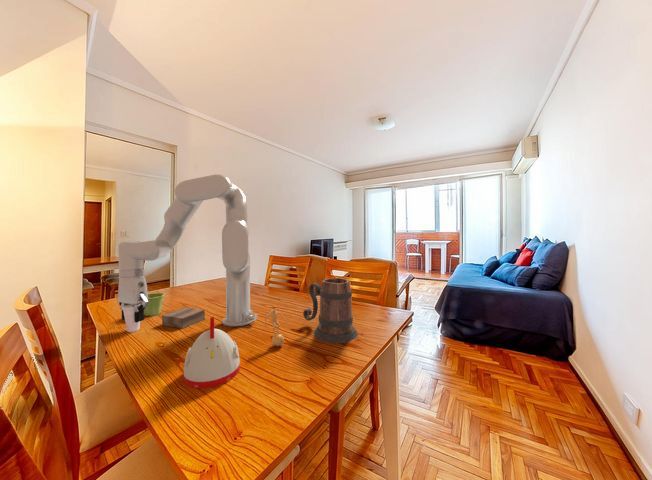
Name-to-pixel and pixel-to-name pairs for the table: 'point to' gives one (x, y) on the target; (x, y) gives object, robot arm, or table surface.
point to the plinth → (183, 317)
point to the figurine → (277, 338)
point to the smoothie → (130, 318)
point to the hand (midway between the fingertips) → (133, 319)
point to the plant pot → (154, 304)
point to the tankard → (332, 311)
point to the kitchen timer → (211, 359)
